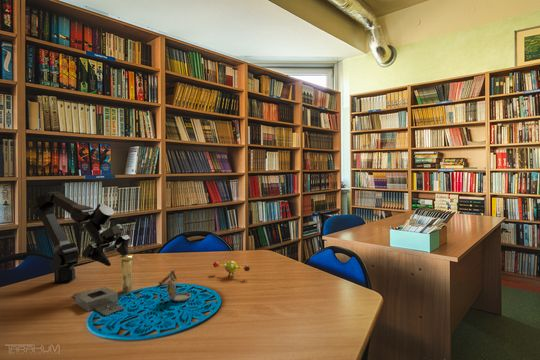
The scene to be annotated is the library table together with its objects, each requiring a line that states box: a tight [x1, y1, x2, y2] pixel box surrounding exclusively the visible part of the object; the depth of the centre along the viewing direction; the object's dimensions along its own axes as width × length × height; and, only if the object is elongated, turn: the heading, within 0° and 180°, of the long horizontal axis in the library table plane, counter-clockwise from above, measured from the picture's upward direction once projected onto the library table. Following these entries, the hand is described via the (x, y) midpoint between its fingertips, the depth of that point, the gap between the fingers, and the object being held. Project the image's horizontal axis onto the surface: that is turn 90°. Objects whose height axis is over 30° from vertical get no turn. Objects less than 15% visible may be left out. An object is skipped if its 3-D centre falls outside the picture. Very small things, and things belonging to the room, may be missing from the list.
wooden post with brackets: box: [158, 269, 177, 286], centre depth 129 cm, size 2×8×4 cm, turn 145°
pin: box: [119, 254, 134, 293], centre depth 120 cm, size 4×4×14 cm
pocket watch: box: [166, 274, 192, 302], centre depth 112 cm, size 8×8×10 cm
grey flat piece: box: [72, 286, 125, 317], centre depth 110 cm, size 26×10×3 cm, turn 52°
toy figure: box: [212, 260, 251, 278], centre depth 136 cm, size 18×6×7 cm, turn 68°
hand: (119, 262), depth 121 cm, fingers open, 9 cm apart
